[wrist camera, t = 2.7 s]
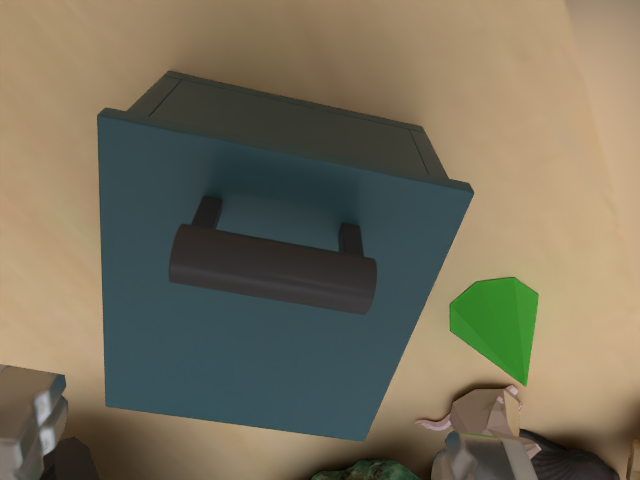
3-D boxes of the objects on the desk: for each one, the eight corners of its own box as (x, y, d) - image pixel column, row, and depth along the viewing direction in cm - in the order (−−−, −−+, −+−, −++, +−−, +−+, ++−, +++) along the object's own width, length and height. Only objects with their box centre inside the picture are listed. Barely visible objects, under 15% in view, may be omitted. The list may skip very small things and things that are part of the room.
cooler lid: (105, 106, 16) (33, 167, 12) (469, 182, 18) (514, 259, 13) (111, 393, 24) (68, 489, 20) (362, 428, 25) (371, 524, 21)
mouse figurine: (404, 402, 36) (420, 491, 30) (512, 373, 34) (551, 461, 29) (424, 441, 39) (442, 530, 33) (525, 416, 37) (563, 505, 31)
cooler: (167, 70, 23) (106, 128, 16) (422, 126, 25) (461, 200, 18) (156, 290, 30) (111, 392, 24) (353, 323, 32) (362, 427, 25)
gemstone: (552, 324, 32) (595, 399, 27) (467, 357, 34) (492, 433, 29) (523, 261, 29) (565, 331, 24) (431, 301, 31) (453, 374, 26)
